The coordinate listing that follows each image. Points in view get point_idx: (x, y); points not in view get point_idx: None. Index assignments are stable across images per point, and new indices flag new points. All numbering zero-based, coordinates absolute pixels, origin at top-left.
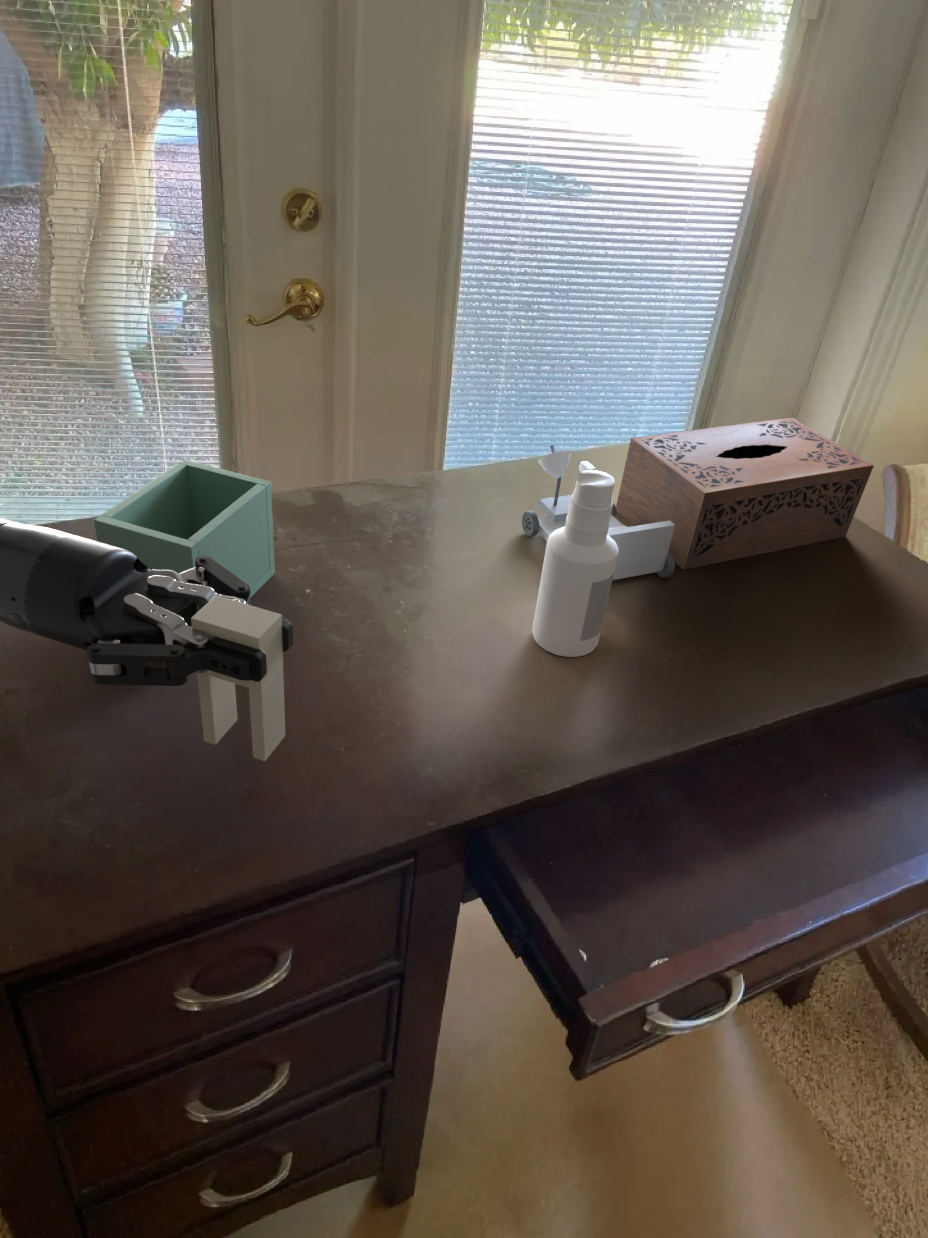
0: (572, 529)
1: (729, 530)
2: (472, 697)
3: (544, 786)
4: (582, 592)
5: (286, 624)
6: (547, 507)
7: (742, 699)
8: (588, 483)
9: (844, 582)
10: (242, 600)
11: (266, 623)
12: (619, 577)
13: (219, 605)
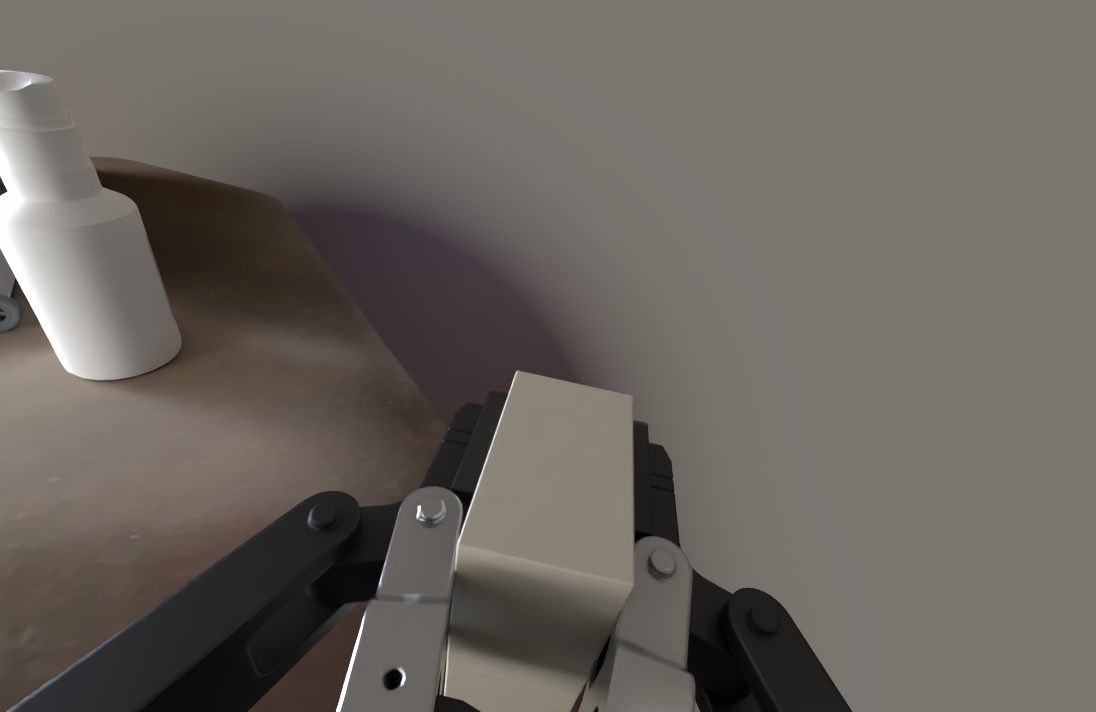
0: (59, 179)
1: (2, 184)
2: (239, 445)
3: (413, 388)
4: (147, 258)
5: (503, 392)
6: None
7: (293, 264)
8: (18, 85)
9: (127, 187)
10: (414, 497)
11: (567, 390)
12: (11, 286)
13: (524, 513)
